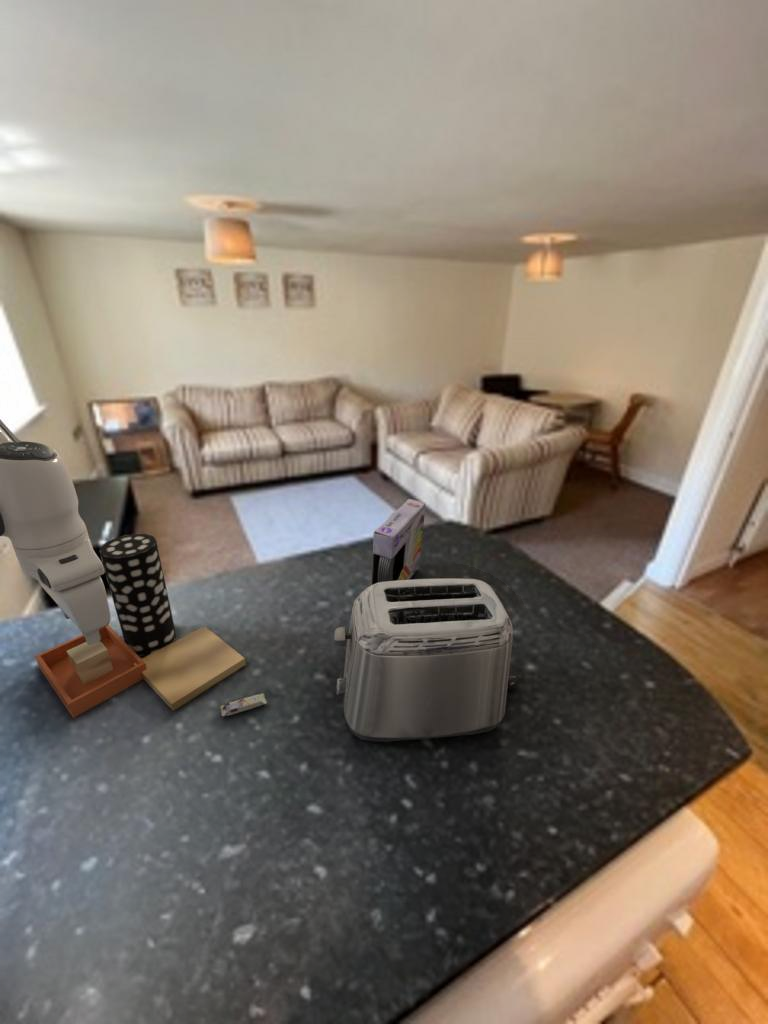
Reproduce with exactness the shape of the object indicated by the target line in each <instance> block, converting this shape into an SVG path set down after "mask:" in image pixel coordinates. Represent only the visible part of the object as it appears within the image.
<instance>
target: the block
mask: <svg viewBox="0 0 768 1024" xmlns="http://www.w3.org/2000/svg"><path fill="white" fill-rule="evenodd" d="M67 654H68V657H69V660H70V663H71V666H72V669H73V672H74V673H75V674H76V676H77V677H78V678H79V680H80V681H81V682H82V684H83V685H85V684H87V683H89V682H91V681H93V680H95V679H97V678H99V677H101V676H103V675H105V674H107V673H108V672H110V671H112V670H113V667H112V663H111V660H110V657H109V653H108V650H107V648H106V647H105V646H104V645H103V644H102V643H101V642H100V641H99V642H97V643H94V644H92V645H88V644H87V642H85V643H83V644H81V645H78V646H76V647H74V648H72V649H70V650H68V651H67Z"/></svg>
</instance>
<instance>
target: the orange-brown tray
mask: <svg viewBox="0 0 768 1024" xmlns="http://www.w3.org/2000/svg"><path fill="white" fill-rule="evenodd" d="M99 634H100V637H101V640H100V642H101V643H102V644H103V645H104V646H105V647H106V648H107V650H108V653H109V657H110V660H111V663H112V667H113V670H112V671H110V672H108V673H107V674H105V675H103V676H101V677H99V678H97V679H95V680H93V681H91V682H89V683H87V684H85V685H83V684H82V682H81V681H80V680H79V678H78V677H77V676H76V674H75V673H74V672H73V669H72V666H71V663H70V660H69V657H68V654H67V651H68V650H70V649H72V648H74V647H76V646H78V645H81V644H83V643H85V642H86V641H85V640H84V637H83V634H81V635H79V636H76V637H74V638H72V639H70V640H67V641H65V642H63V643H61V644H59V645H57V646H54V647H52V648H50V649H47V650H45V651H43V652H41V653H38V654H37V655H35V656H34V657H35V660H36V662H37V665H38V669H39V670H40V671H41V673H42V674H43V676H44V677H45V679H46V680H47V681H48V683H49V684H50V686H51V687H52V689H53V690H54V692H55V693H56V695H57V696H58V698H59V700H60V701H61V702H62V704H63V705H64V707H65V708H66V710H67V711H68V713H69V714H70V716H71V717H72V718H73V719H74V718H76V717H78V716H80V715H81V714H83V713H85V712H86V711H89V710H90V709H92V708H95V707H96V706H98V705H99V704H101V703H103V702H105V701H107V700H109V699H110V698H112V697H114V696H116V695H117V694H119V693H121V692H122V691H124V690H126V689H128V688H129V687H132V686H134V685H135V684H137V683H139V682H140V681H143V680H144V679H143V676H142V672H143V671H145V670H146V669H147V667H146V663H145V662H144V661H143V660H142V658H141V657H140V656H138V655H137V654H136V653H135V652H134V651H133V650H132V649H131V648H130V647H129V646H128V645H127V644H126V643H125V641H124V638H123V637H121V636H120V635H119V634H118V633H117V632H116V631H115V630H114V629H113V627H111V626H110V624H108V625H107V626H105V627H103V628H101V629H99ZM133 663H136V664H137V665H136V666H135V667H134V664H133Z"/></svg>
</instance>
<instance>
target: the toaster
mask: <svg viewBox="0 0 768 1024" xmlns="http://www.w3.org/2000/svg"><path fill="white" fill-rule="evenodd" d="M513 640H514V630H513V624H512V621H511V618H510V617H509V615H508V612H507V610H506V608H505V607H504V605H503V603H502V602H501V600H500V598H499V597H498V595H497V593H496V592H495V591H494V589H493V588H492V587H491V585H489V584H488V583H487V582H485V581H483V580H481V579H475V578H417V579H410V580H398V581H387V582H379V583H376V584H374V585H372V584H371V585H369V586H368V587H366V588H365V589H364V590H362V591H361V592H360V593H359V594H358V595H357V597H356V598H355V600H354V601H353V605H352V608H351V615H350V622H349V629H348V632H347V629H346V626H339V627H336V629H335V630H334V638H333V641H334V644H335V645H336V646H337V647H345V646H346V651H345V660H344V668H343V669H344V670H343V677H337V679H336V687H335V688H336V689H335V692H336V693H335V694H336V695H337V696H342V697H343V713H344V718H345V721H346V723H347V725H348V728H349V730H350V732H351V733H352V734H353V735H354V736H355V737H356V738H358V739H360V740H362V741H366V742H375V743H377V742H378V743H390V742H391V743H392V742H396V741H409V740H411V741H412V740H427V739H439V738H440V739H441V738H450V737H457V736H473V735H477V734H482V733H489V732H491V731H492V730H495V729H496V728H497V727H498V726H499V725H500V724H501V723H502V721H503V719H504V717H505V714H506V705H507V698H508V697H507V696H508V691H511V687H512V686H513V685H516V682H515V681H512V679H516V678H517V676H515V675H511V676H510V669H511V668H510V667H511V659H512V650H513V649H512V648H513ZM346 641H347V643H346ZM511 681H512V682H511Z"/></svg>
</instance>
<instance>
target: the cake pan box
mask: <svg viewBox="0 0 768 1024" xmlns="http://www.w3.org/2000/svg"><path fill="white" fill-rule="evenodd" d="M426 505H427V504H426V502H422V501H419V500H414V499H411V498H408V499H407V500H406V501H405V502H404V503H403V504H402V505H401V506H400V507H399V508H398V509H395V511H394V512H392V513H391V514H390V515H389V516H388V517H387V519H386V520H385V521H384V522H383V523H381V525H380V526H379V527H378V528H376V529H374V531H373V541H372V542H373V543H372V565H371V566H372V567H371V569H372V570H371V586H372V585H374V584H376V583H379V582H387V581H398V580H411V578H412V577H413V576H414V574H415V573H416V572H417V570H418V569H419V568H420V563H421V554H422V545H423V544H422V543H423V532H424V524H425V517H426V516H425V515H426V514H425V513H426ZM418 565H419V566H418ZM417 566H418V568H417ZM416 568H417V569H416ZM414 571H415V572H414ZM413 572H414V573H413Z"/></svg>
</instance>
